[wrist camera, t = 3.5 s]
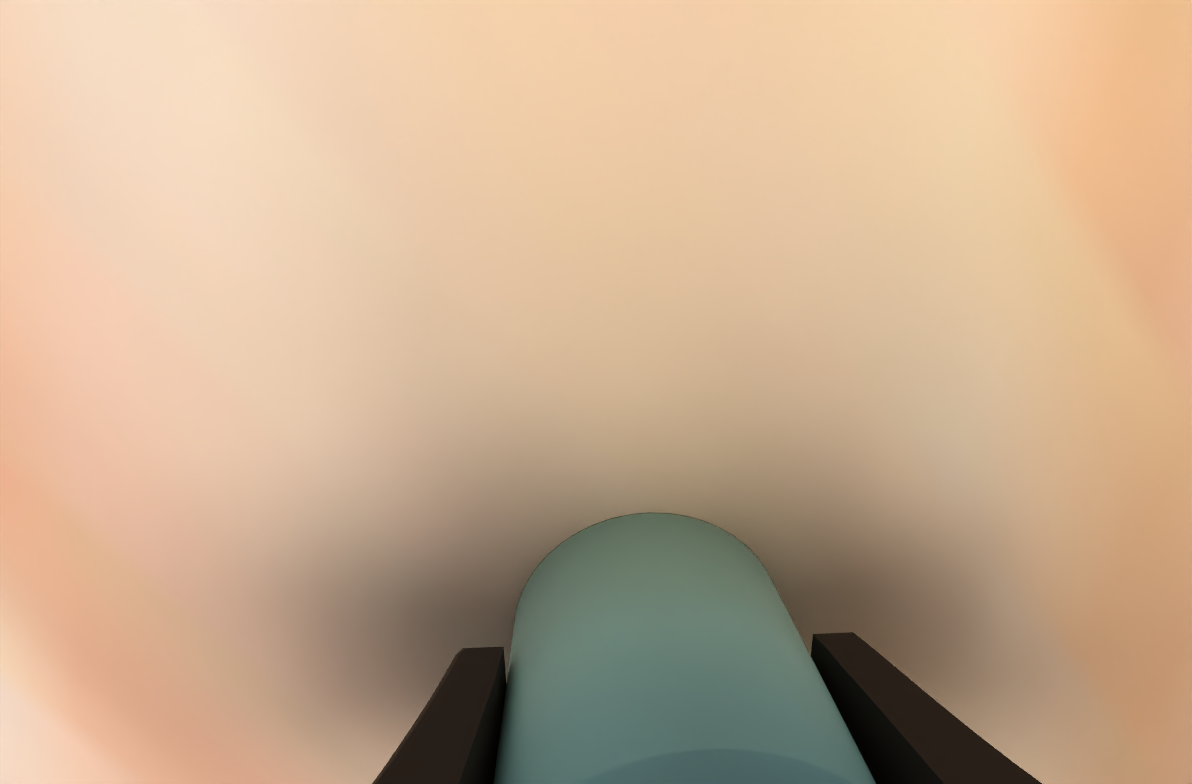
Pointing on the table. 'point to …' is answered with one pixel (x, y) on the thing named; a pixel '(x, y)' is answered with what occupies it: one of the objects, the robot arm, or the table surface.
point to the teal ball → (664, 668)
